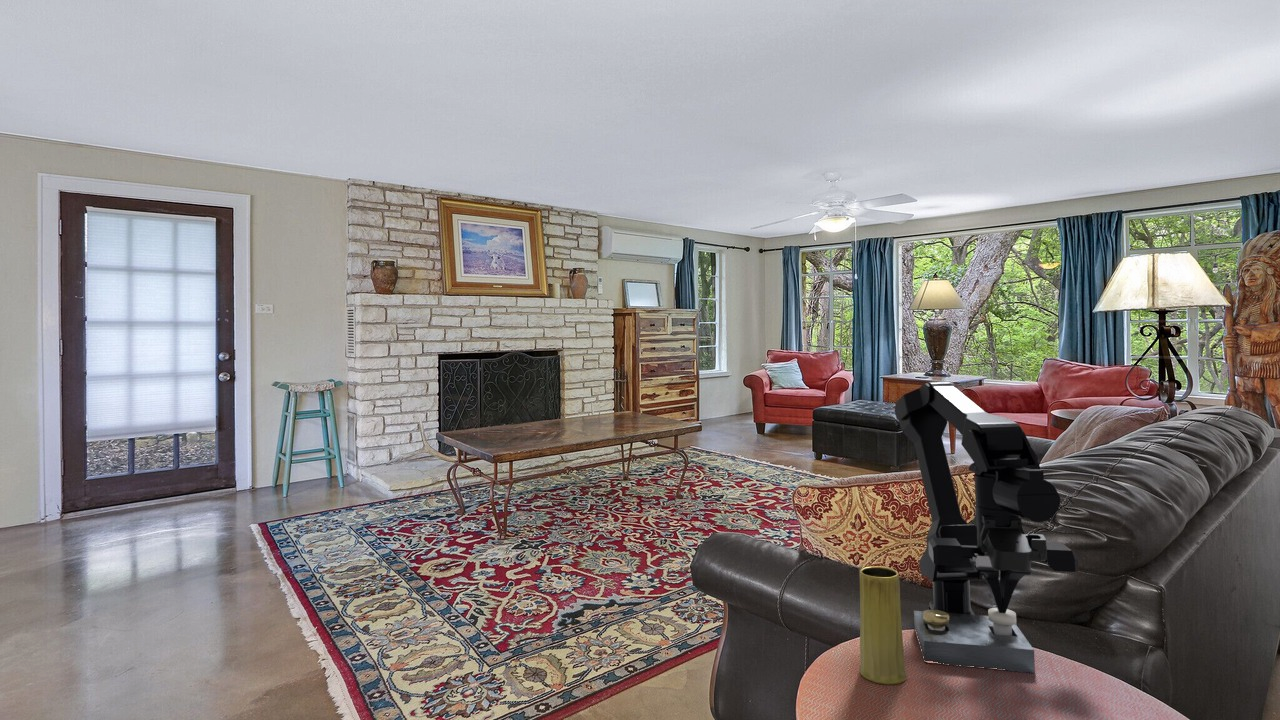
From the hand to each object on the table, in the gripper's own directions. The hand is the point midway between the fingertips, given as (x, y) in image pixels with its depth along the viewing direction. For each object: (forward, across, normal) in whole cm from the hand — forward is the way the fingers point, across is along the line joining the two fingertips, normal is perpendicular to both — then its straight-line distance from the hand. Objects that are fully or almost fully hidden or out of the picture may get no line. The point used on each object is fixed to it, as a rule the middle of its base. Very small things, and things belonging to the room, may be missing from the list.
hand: (1001, 612), depth 95 cm
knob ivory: (+5, 0, 0) cm, 5 cm away
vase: (+6, -18, -11) cm, 22 cm away
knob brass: (+6, -9, 0) cm, 11 cm away
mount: (+6, -4, 0) cm, 8 cm away
